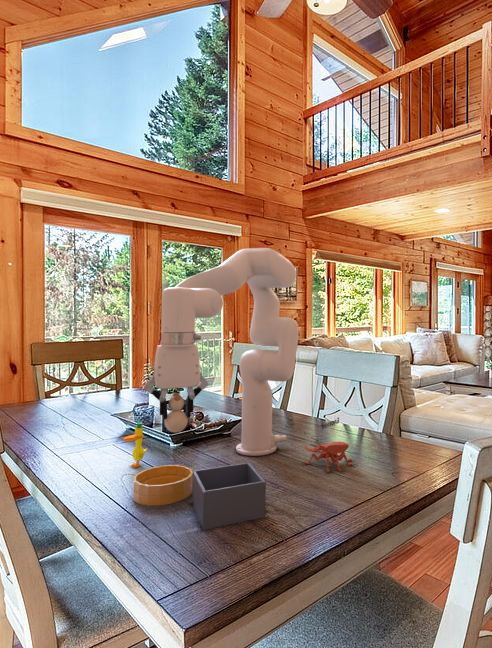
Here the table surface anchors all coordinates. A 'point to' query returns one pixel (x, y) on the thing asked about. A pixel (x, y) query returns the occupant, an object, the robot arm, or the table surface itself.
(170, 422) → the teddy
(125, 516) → the table surface
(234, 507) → the bin
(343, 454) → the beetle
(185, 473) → the bowl
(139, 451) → the toy figure
